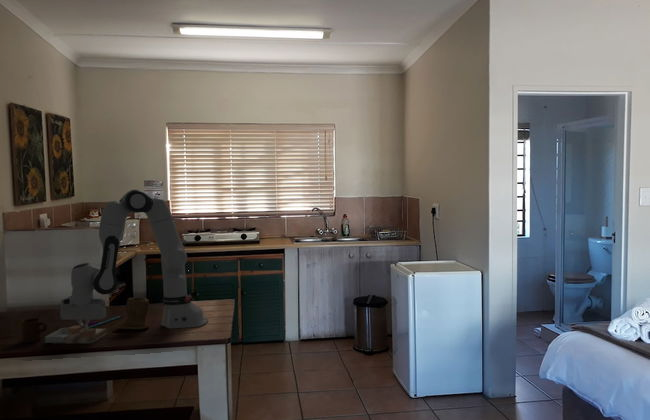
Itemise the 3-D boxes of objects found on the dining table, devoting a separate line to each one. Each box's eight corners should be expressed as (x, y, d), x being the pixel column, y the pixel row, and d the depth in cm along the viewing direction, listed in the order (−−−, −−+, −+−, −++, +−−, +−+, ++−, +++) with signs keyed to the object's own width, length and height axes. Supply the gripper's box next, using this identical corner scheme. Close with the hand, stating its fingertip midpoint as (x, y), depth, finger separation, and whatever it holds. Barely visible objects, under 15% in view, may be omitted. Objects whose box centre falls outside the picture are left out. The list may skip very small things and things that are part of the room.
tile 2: (95, 333, 232) (95, 329, 231) (90, 336, 227) (90, 332, 226) (85, 333, 232) (85, 329, 232) (79, 336, 227) (79, 332, 227)
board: (107, 333, 239) (107, 328, 239) (92, 343, 225) (91, 337, 225) (80, 334, 240) (80, 328, 240) (63, 343, 226) (63, 337, 226)
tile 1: (84, 329, 238) (83, 325, 238) (78, 332, 233) (78, 328, 233) (73, 329, 238) (73, 325, 238) (67, 332, 233) (67, 328, 233)
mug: (54, 339, 233) (52, 318, 232) (41, 344, 226) (39, 323, 225) (32, 337, 236) (31, 317, 235) (18, 342, 228) (17, 322, 228)
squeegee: (106, 314, 272) (121, 315, 268) (106, 317, 272) (121, 318, 268) (60, 329, 245) (76, 331, 242) (61, 333, 245) (76, 335, 242)
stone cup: (154, 325, 252) (153, 295, 251) (142, 332, 240) (141, 300, 240) (126, 324, 255) (125, 294, 254) (113, 331, 243) (111, 300, 242)
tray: (79, 334, 240) (79, 327, 240) (62, 343, 226) (62, 336, 226) (62, 334, 240) (62, 327, 240) (45, 343, 226) (44, 336, 226)
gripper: (108, 297, 237) (109, 326, 238) (65, 297, 238) (66, 326, 239) (101, 300, 231) (102, 330, 232) (57, 300, 232) (59, 330, 233)
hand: (84, 328), depth 235 cm, fingers closed
